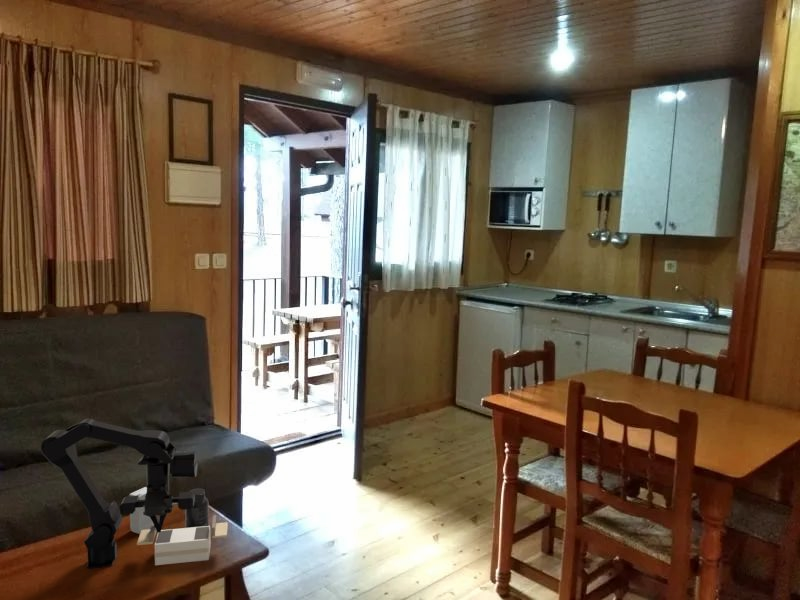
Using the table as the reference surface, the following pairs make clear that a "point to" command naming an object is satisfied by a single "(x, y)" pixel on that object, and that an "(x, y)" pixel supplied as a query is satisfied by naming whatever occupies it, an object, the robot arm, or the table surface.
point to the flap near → (147, 536)
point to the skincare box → (140, 514)
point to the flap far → (219, 528)
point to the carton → (182, 545)
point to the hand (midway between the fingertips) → (159, 531)
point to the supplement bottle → (198, 510)
